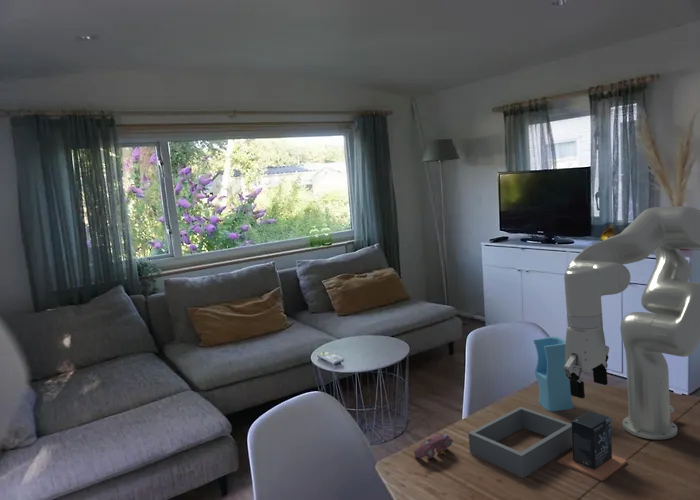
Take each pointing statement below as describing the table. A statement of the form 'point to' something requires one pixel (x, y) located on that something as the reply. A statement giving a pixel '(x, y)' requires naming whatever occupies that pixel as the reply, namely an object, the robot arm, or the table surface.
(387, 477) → the table surface
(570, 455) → the mat
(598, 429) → the box
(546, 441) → the enclosure
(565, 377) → the vase
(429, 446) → the video game controller
